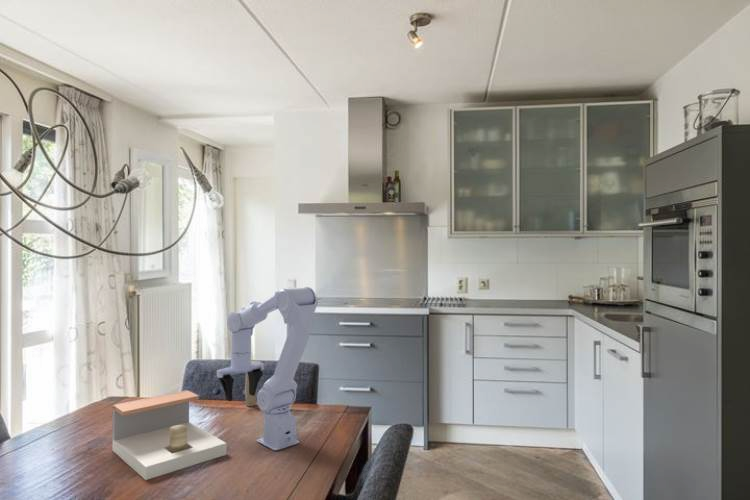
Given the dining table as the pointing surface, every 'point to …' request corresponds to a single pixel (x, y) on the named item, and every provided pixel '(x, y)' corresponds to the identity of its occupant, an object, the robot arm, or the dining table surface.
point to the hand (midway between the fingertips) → (240, 397)
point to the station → (160, 435)
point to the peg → (178, 438)
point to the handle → (249, 398)
